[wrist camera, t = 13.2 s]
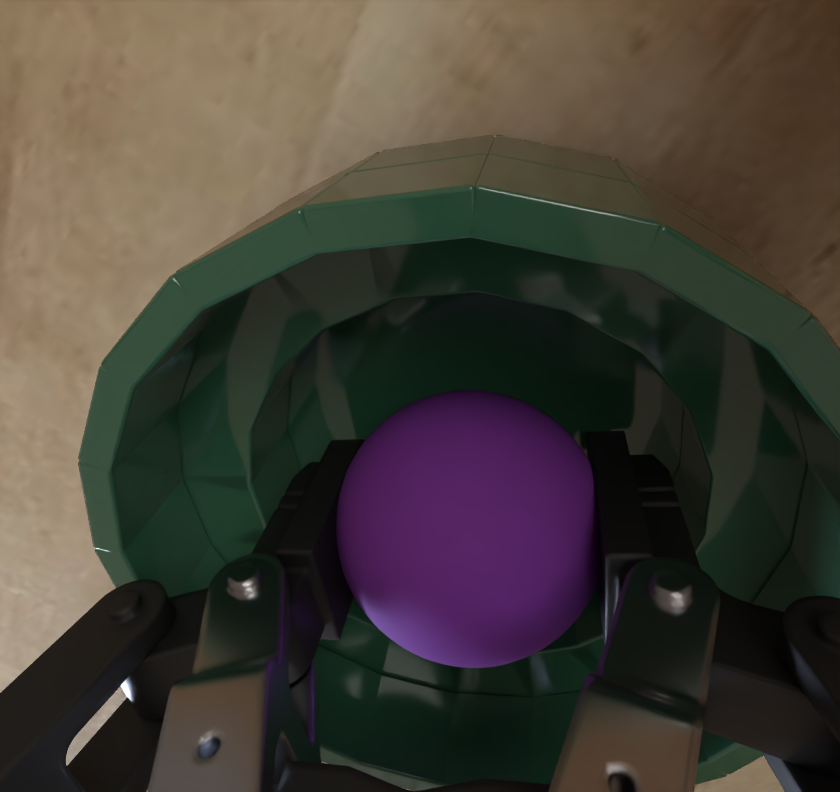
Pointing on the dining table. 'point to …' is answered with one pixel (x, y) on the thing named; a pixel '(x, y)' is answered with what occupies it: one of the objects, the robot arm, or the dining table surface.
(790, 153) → the dining table surface
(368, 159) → the bowl
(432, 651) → the ball
